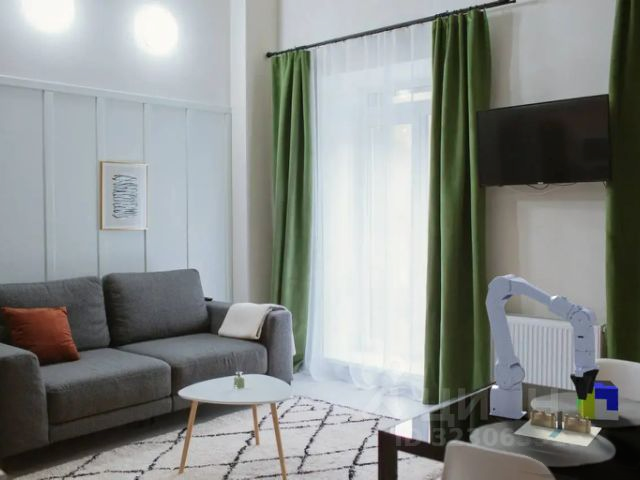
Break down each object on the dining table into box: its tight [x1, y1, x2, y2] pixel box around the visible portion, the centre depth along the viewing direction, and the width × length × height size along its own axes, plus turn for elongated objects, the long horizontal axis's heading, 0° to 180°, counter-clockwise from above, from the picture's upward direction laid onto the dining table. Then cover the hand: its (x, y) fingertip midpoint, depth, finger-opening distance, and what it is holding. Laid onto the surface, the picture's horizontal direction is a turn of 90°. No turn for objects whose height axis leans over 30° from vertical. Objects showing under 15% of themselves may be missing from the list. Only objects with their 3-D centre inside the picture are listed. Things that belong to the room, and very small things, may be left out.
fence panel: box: [563, 413, 592, 434], centre depth 187 cm, size 7×1×4 cm, turn 55°
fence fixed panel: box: [529, 408, 563, 429], centre depth 192 cm, size 9×1×5 cm, turn 55°
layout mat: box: [513, 419, 602, 447], centre depth 189 cm, size 20×18×1 cm
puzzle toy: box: [576, 379, 619, 421], centre depth 203 cm, size 10×10×10 cm
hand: (585, 396), depth 191 cm, fingers open, 7 cm apart
